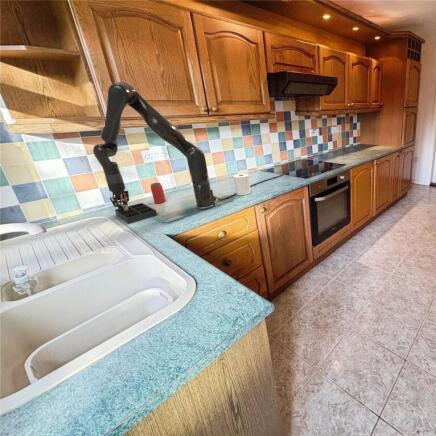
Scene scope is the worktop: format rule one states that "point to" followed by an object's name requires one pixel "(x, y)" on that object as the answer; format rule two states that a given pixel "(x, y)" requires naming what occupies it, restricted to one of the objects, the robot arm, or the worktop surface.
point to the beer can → (157, 193)
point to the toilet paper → (242, 184)
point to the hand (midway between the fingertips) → (124, 211)
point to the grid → (136, 213)
